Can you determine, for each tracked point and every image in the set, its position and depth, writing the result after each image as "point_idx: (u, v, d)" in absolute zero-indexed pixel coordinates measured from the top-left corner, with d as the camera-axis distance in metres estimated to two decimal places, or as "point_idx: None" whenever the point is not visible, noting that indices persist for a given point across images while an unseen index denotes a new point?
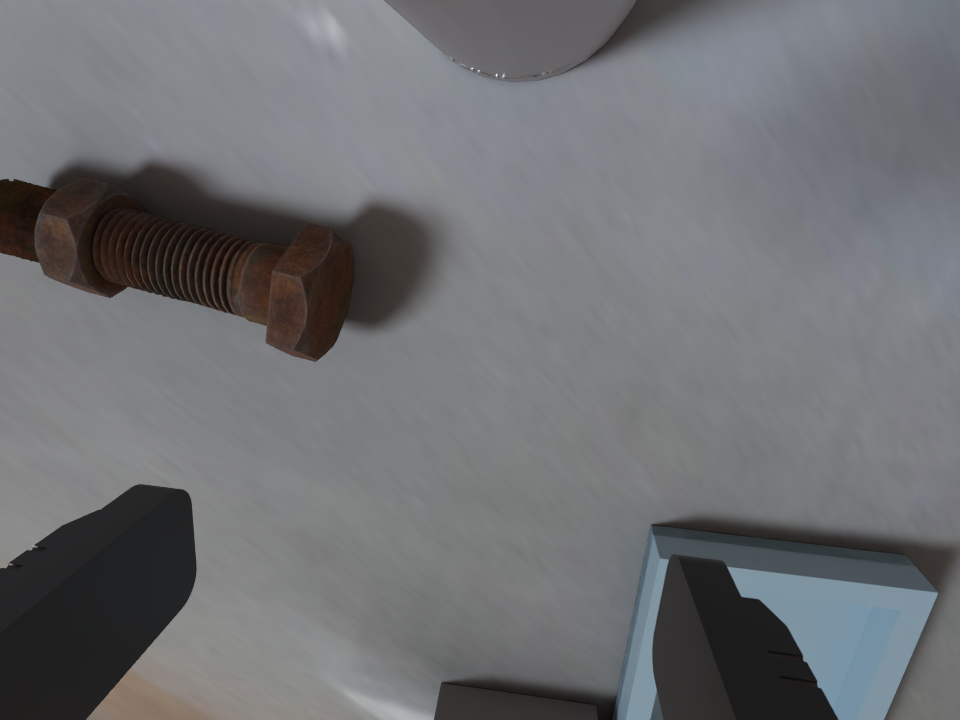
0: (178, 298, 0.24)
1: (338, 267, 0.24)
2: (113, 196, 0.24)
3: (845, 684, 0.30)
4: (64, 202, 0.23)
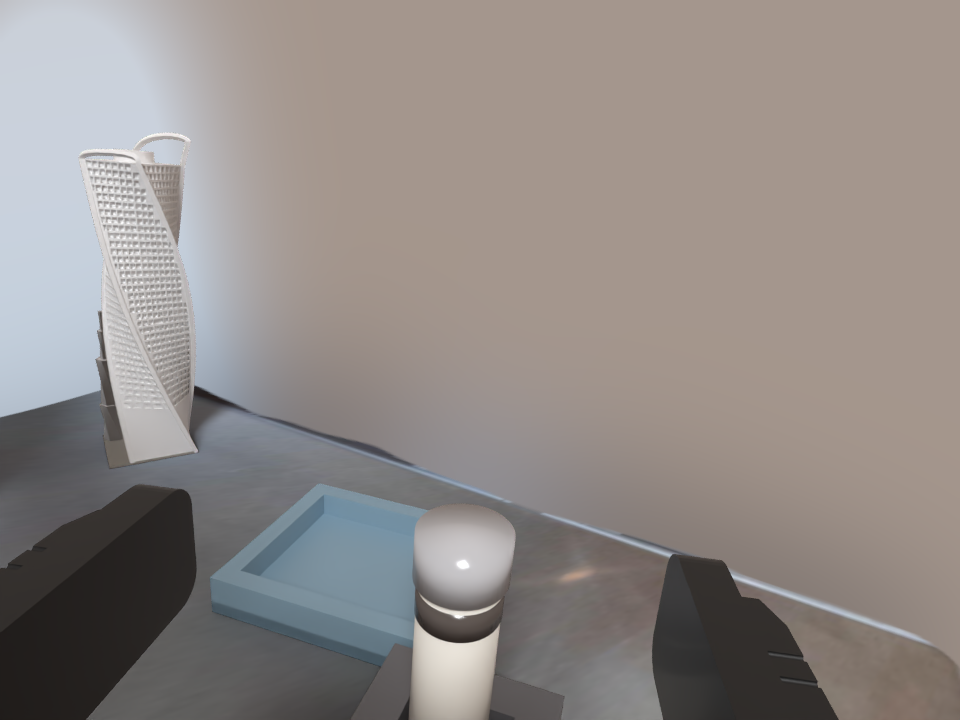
0: None
1: None
2: None
3: (398, 530, 0.43)
4: None
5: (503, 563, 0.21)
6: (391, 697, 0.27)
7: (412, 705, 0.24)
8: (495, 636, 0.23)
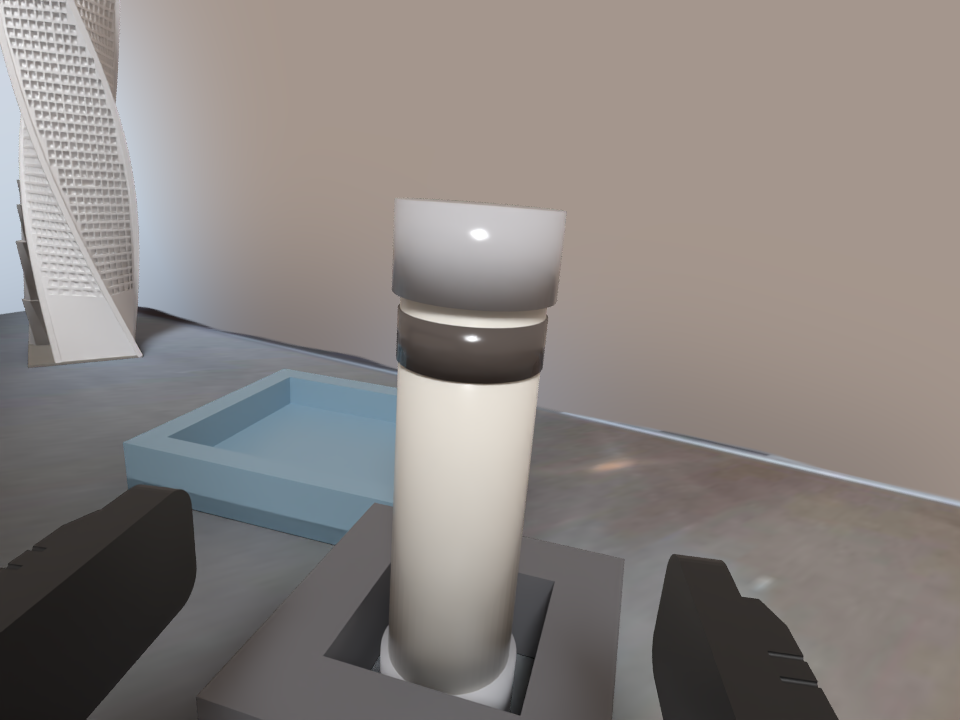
0: None
1: None
2: None
3: (383, 417, 0.34)
4: None
5: (549, 230, 0.12)
6: (366, 558, 0.18)
7: (396, 529, 0.14)
8: (533, 393, 0.13)
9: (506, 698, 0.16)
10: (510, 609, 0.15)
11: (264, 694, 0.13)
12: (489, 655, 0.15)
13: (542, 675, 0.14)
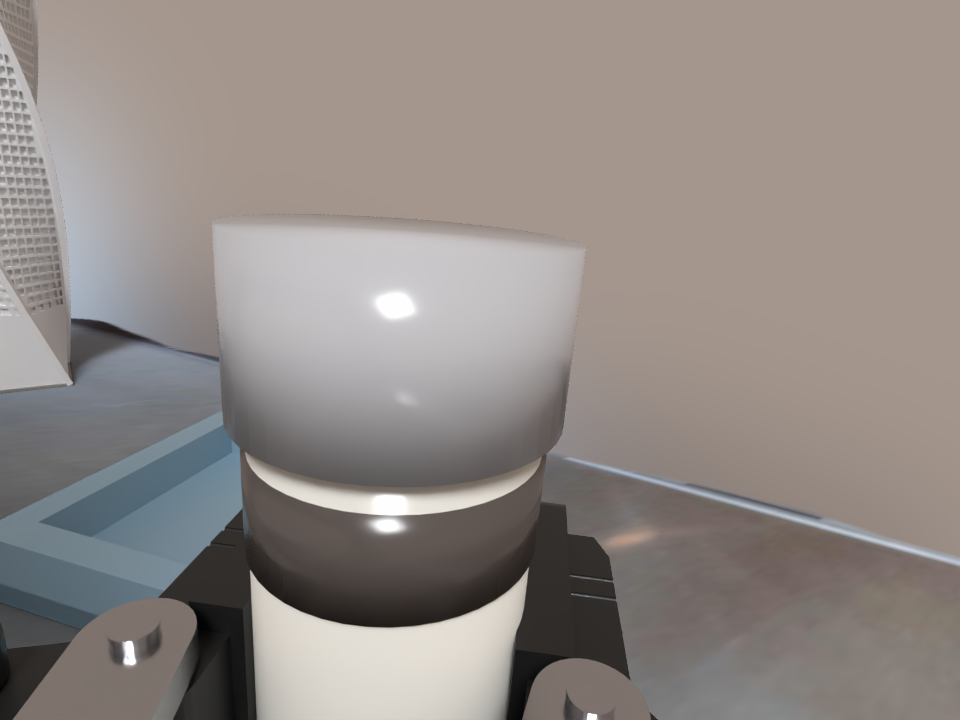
0: None
1: None
2: None
3: None
4: None
5: (550, 297, 0.05)
6: None
7: None
8: (516, 607, 0.07)
9: None
10: None
11: None
12: None
13: None
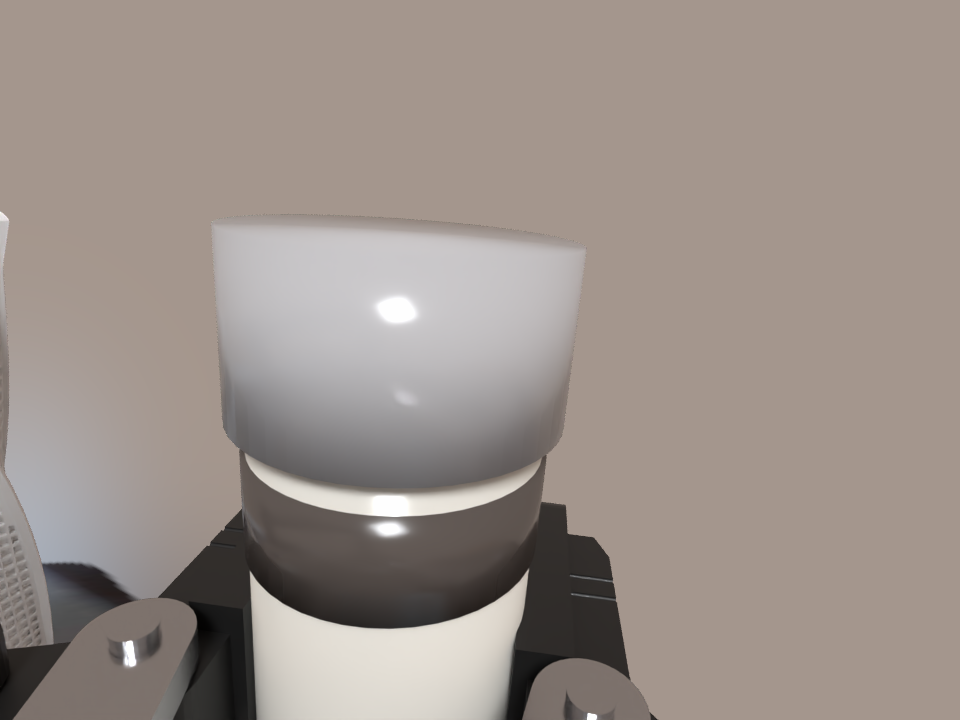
0: None
1: None
2: None
3: None
4: None
5: (551, 296, 0.05)
6: None
7: None
8: (516, 608, 0.07)
9: None
10: None
11: None
12: None
13: None
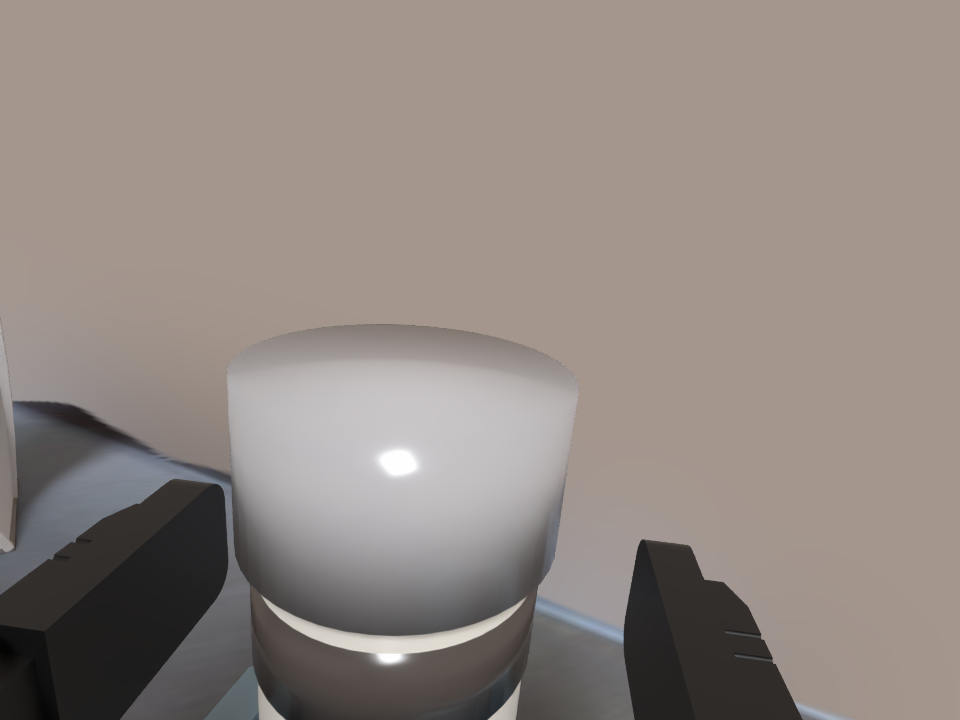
0: None
1: None
2: None
3: None
4: None
5: (544, 454, 0.06)
6: None
7: None
8: (509, 715, 0.07)
9: None
10: None
11: None
12: None
13: None
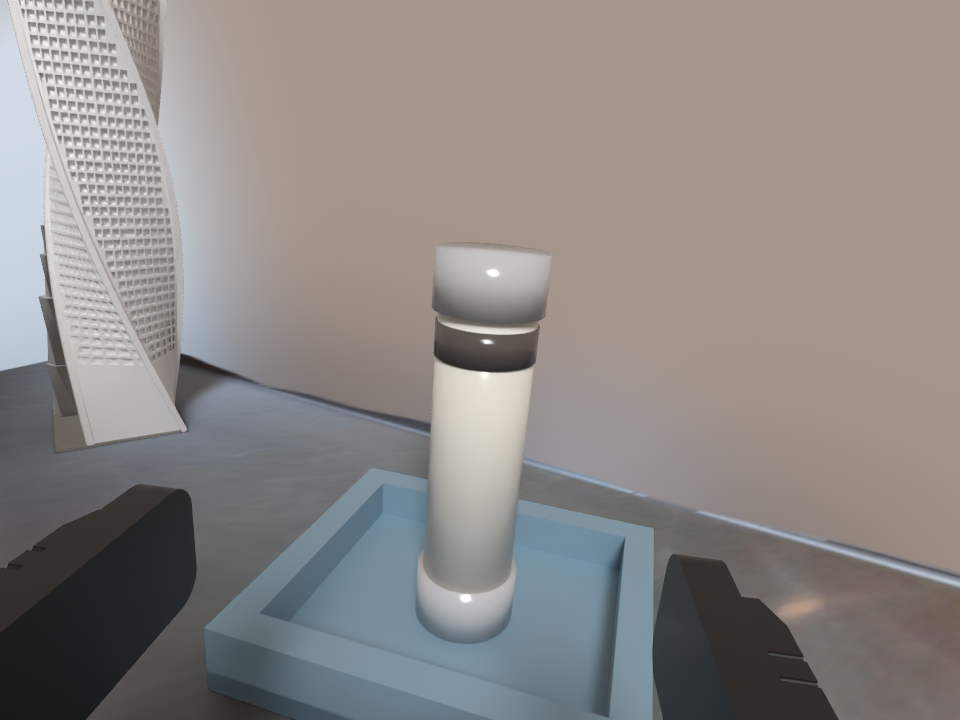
0: None
1: None
2: None
3: None
4: None
5: (539, 269, 0.18)
6: None
7: (431, 475, 0.20)
8: (528, 379, 0.19)
9: (509, 601, 0.22)
10: (512, 534, 0.21)
11: None
12: (497, 566, 0.21)
13: None
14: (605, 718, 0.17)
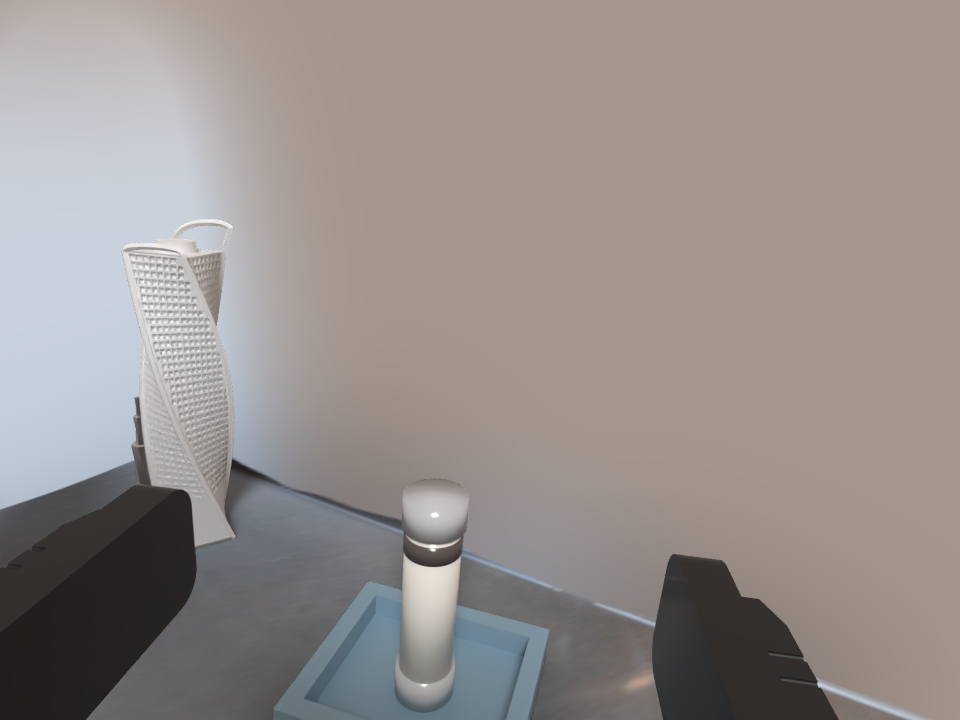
0: None
1: None
2: None
3: None
4: None
5: (459, 513, 0.33)
6: None
7: (402, 615, 0.35)
8: (457, 565, 0.34)
9: (450, 685, 0.36)
10: (450, 648, 0.36)
11: None
12: (441, 667, 0.35)
13: None
14: None
